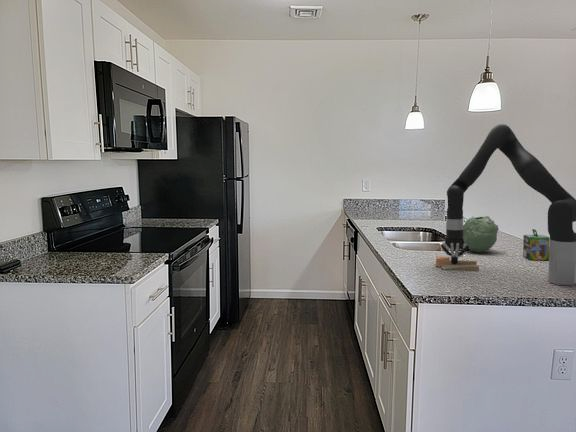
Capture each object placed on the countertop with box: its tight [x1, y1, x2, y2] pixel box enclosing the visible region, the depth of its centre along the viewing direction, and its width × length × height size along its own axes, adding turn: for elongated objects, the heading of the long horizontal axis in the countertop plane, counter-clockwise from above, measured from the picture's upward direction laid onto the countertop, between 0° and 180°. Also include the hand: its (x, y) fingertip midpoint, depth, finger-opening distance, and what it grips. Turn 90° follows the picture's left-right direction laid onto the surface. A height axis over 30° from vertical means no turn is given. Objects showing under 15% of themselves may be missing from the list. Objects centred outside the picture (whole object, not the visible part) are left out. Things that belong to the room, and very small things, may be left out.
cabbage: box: [463, 215, 499, 254], centre depth 224 cm, size 16×19×20 cm
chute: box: [440, 259, 480, 272], centre depth 195 cm, size 12×16×2 cm
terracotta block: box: [435, 255, 451, 267], centre depth 198 cm, size 6×6×4 cm
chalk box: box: [522, 228, 550, 261], centre depth 206 cm, size 9×9×15 cm
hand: (454, 264), depth 196 cm, fingers closed
